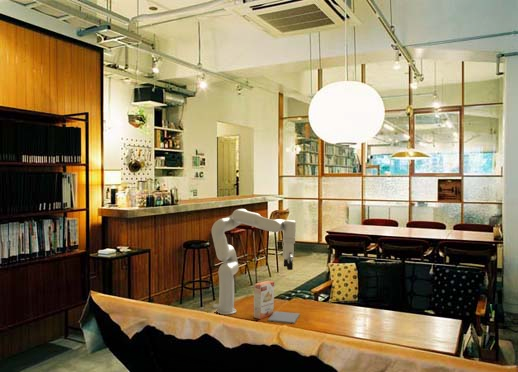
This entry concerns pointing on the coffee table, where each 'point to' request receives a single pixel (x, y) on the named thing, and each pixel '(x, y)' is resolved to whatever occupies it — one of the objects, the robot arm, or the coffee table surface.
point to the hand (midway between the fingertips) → (288, 268)
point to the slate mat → (284, 317)
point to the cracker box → (263, 299)
